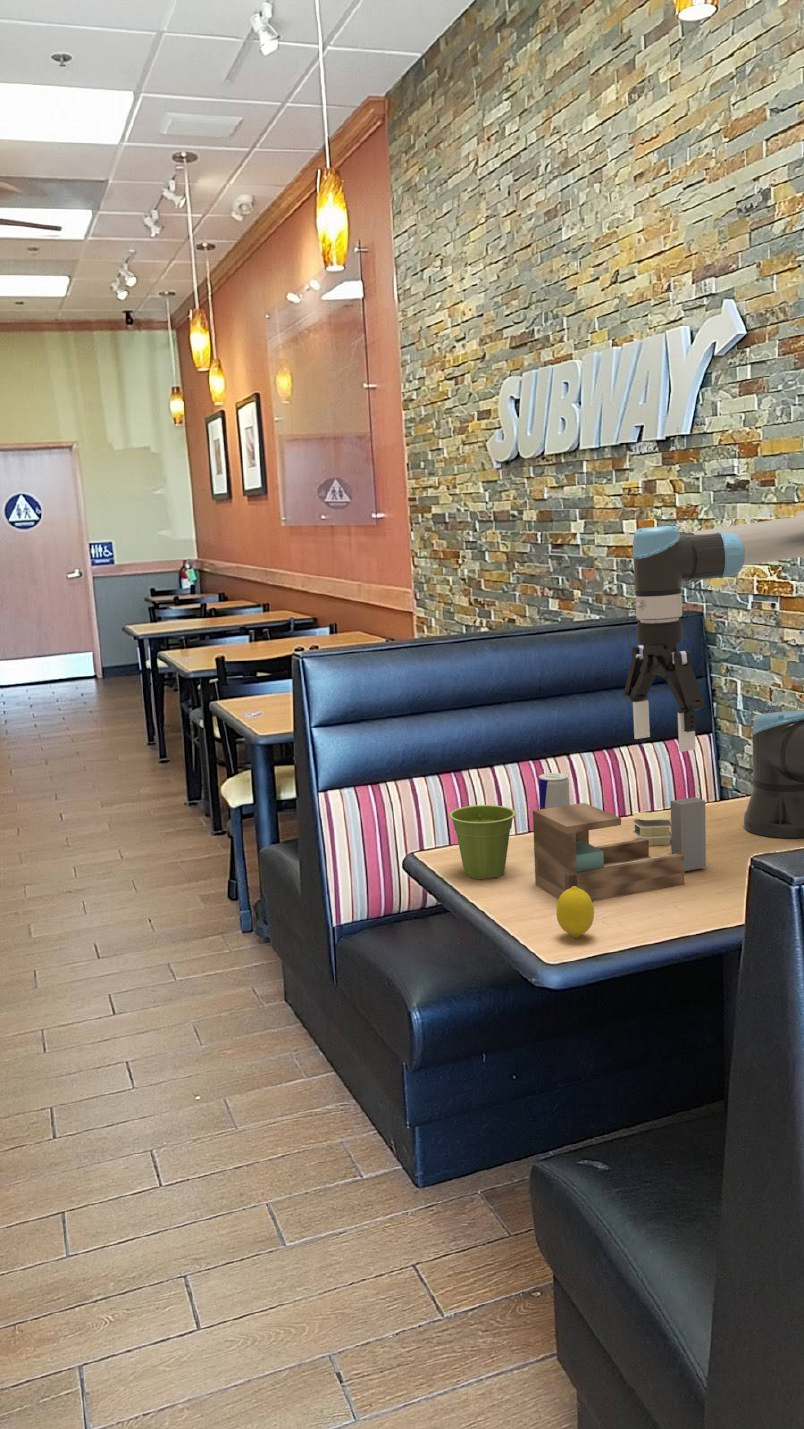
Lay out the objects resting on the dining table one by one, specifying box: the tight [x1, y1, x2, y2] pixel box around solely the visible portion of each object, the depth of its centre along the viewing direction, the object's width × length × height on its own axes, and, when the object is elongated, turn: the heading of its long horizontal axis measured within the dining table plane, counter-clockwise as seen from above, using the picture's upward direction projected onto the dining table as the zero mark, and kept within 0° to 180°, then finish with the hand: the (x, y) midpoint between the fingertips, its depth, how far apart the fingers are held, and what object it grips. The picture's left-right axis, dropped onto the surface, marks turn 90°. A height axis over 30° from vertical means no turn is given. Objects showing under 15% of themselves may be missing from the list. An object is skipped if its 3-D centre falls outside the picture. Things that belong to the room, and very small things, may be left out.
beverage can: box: [538, 772, 571, 810], centre depth 207 cm, size 6×6×15 cm
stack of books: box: [632, 811, 671, 847], centre depth 211 cm, size 10×9×6 cm
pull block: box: [576, 796, 707, 872], centre depth 189 cm, size 28×7×12 cm, turn 110°
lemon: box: [555, 886, 595, 939], centre depth 164 cm, size 6×6×8 cm
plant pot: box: [448, 804, 517, 880], centre depth 197 cm, size 12×12×11 cm
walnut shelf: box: [532, 802, 685, 902], centre depth 187 cm, size 22×12×13 cm, turn 110°
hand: (664, 744), depth 188 cm, fingers open, 13 cm apart
